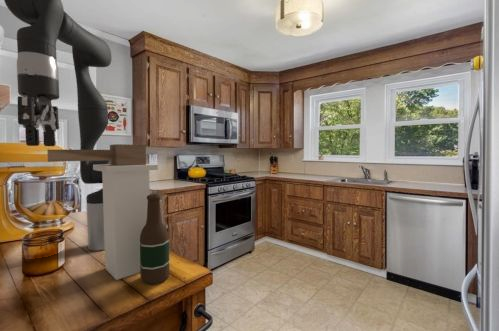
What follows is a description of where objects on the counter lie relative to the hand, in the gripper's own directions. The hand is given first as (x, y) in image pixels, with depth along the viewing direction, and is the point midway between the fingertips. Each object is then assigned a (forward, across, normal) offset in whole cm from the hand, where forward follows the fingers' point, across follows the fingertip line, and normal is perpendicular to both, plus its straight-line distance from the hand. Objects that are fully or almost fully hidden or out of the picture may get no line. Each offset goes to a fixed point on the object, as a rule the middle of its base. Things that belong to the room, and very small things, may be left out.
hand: (41, 146), depth 61 cm
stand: (+37, -11, +16) cm, 42 cm away
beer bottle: (+38, -2, +25) cm, 45 cm away
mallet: (+5, -8, +10) cm, 14 cm away
